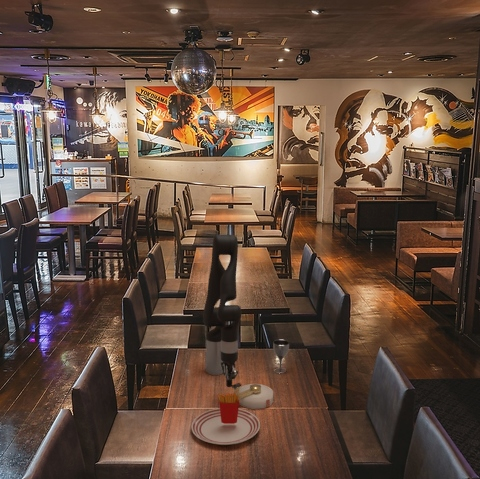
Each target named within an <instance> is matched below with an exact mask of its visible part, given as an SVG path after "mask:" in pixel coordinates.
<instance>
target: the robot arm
mask: <svg viewBox="0 0 480 479" xmlns="http://www.w3.org/2000/svg"><path fill="white" fill-rule="evenodd" d="M212 240H213V241H212V249H211V263H210V264H211V265H210V270H209V276H208V283H207V293H206V299H205V300H206V301H205V304H204V308H203V312H202V322H203V325H204V326H205V327H207V328H212V327H213V329H211V330H209V331H207V333H206V335H205V340H206V341H205V342H206V344H205V345H206V346H205V349H206V350H205V353H204V356H205V357H204V359H205V361H204V366H205V368H204V370H205V371H206V373H207V374H208V375H210V376H211V375H212V376H218V375H222V374H223V376H224V377H225V380H226V382H225V386H226V387H227V388H232V385H233V380H235V379H236V377H237V376H238V375H239V371H238V370H236V362H237V361H238V359H239V344H238V343H239V342H238V329H239V326H240V321H241V318H242V313H243V311H242V308H241V306H240V305H238V304H226V303H228V302H230V301H234V300H236V299H237V296H238V295H237V268H238V251H239V250H238V249H239V242H238V237H237V236H236V235H235V234H220V233H219V234H215V235H214V237H213V239H212ZM220 256H229V263H228V265H227V267H226V268H225V267H224V266H223V264H222V261H221V260H220ZM218 302H219V304H218V306H217V307H216V304H217V303H218ZM227 322H231V323H230V324H227V325H226V323H227Z"/></svg>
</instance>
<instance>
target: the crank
mask: <svg viewBox="0 0 480 479" xmlns="http://www.w3.org/2000/svg"><path fill="white" fill-rule="evenodd" d="M251 384H252V385H250V389H248V390H246V391H243V392H241V393H239V388H240V387H242V383H241V382H237V383H234V384H232V387H231V388H232V389H233V393H236V395H237V396H238V395H239V399H241V398H243V397H246V396H248V395H251V394H259V393H260V392H261V386H260V385H258V384H259V383H251Z"/></svg>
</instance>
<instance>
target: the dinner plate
mask: <svg viewBox="0 0 480 479" xmlns="http://www.w3.org/2000/svg"><path fill="white" fill-rule="evenodd" d="M190 427H191V432H192V433H193V435H194V436H195V437H196V438H197V439H199V440H201V441H203V442H205V443H209V444H213V445H220V446H221V445H222V446H224V445H225V446H227V445H236V444H240V443H243V442H246V441H248V440H250V439H252V438H254V437H255V436H256V435H257V433H258V432H259V430H260V428H261V422H260V420H259V418H258V417H257V416H256V414H254V413H252V412H250V411H248V410H246V409H241V408H239V409H238V417H237V423H234V424H224V423H222V422H221V414H220V407H219V408H213V409H209V410H206V411H204V412H203V413H200V414H199V415H197V416H196V417H195V418H194V419H193V421H192V423H191V426H190Z"/></svg>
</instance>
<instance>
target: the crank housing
mask: <svg viewBox="0 0 480 479" xmlns="http://www.w3.org/2000/svg"><path fill="white" fill-rule="evenodd" d="M252 384H253V383H250V384H249V383H248V384H244V385H241V386H240V387H239V393H241V392H243V391H246V390H248V389H250V385H252ZM257 384H258V385H260V386H261V392H260V393H259V394H251V395H248V396H246V397H243V398H241V399H239V406H241V407H244V408H246V409H250V410H262V409H267V408H268V407H271V405H273V403H274V390H273V389H272V388H271V387H269V386H267V385H265V384H261V383H257Z"/></svg>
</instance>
